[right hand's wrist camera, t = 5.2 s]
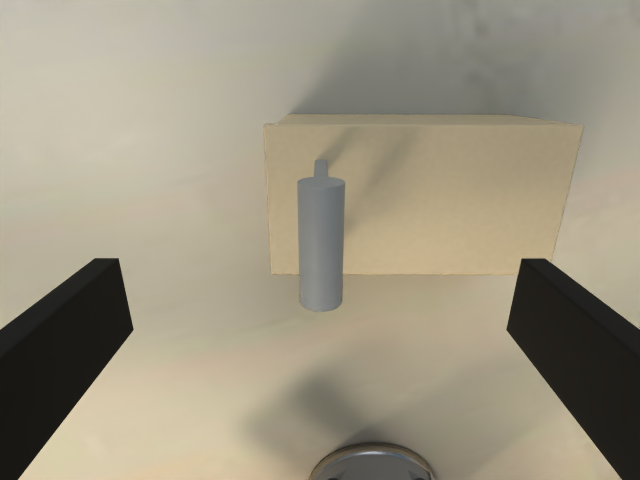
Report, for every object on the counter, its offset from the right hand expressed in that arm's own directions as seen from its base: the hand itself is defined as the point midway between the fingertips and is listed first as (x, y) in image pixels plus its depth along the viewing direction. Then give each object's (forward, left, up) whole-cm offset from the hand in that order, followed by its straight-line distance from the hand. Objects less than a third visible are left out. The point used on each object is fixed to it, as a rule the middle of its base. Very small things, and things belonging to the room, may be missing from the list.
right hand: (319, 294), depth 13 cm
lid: (+3, -5, -12) cm, 13 cm away
